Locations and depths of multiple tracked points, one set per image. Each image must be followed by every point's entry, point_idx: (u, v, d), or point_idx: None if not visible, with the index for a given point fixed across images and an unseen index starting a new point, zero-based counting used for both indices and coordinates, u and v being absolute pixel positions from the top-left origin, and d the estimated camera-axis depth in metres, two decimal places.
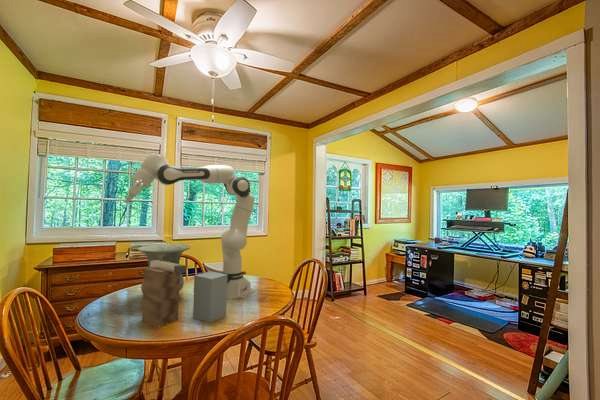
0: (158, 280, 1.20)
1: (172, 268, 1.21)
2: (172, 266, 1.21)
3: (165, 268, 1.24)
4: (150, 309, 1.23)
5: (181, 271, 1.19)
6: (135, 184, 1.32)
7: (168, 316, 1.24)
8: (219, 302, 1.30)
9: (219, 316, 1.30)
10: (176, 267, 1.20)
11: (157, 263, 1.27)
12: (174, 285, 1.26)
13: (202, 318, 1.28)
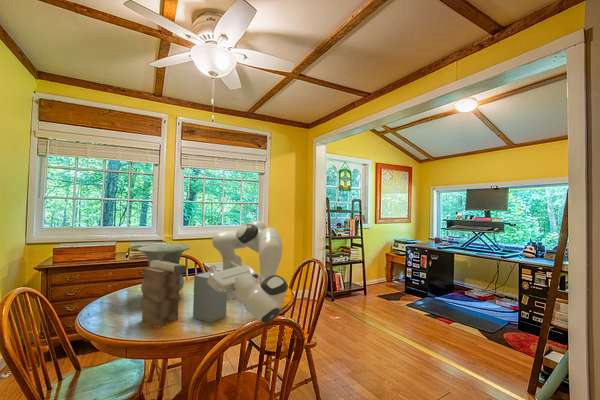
0: (158, 280, 1.20)
1: (172, 268, 1.21)
2: (172, 266, 1.21)
3: (165, 268, 1.24)
4: (150, 309, 1.23)
5: (181, 271, 1.19)
6: (217, 283, 0.95)
7: (168, 316, 1.24)
8: (219, 302, 1.30)
9: (219, 316, 1.30)
10: (176, 267, 1.20)
11: (157, 263, 1.27)
12: (174, 285, 1.26)
13: (202, 318, 1.28)
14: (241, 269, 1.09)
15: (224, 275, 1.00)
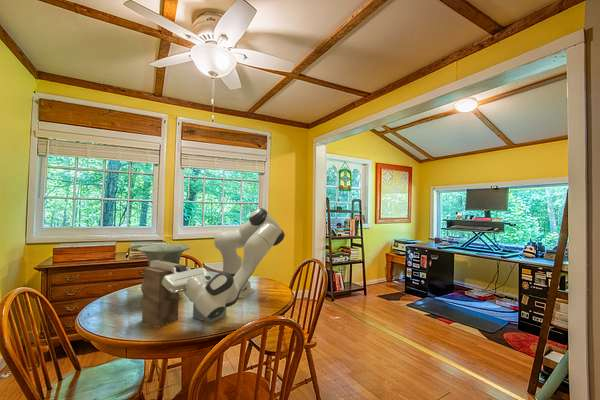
0: (158, 280, 1.20)
1: None
2: (172, 266, 1.21)
3: (165, 268, 1.24)
4: (150, 309, 1.23)
5: (181, 271, 1.19)
6: (169, 284, 1.09)
7: (168, 316, 1.24)
8: None
9: (219, 316, 1.30)
10: (176, 267, 1.20)
11: (157, 263, 1.27)
12: None
13: (202, 318, 1.28)
14: (196, 271, 1.22)
15: (177, 277, 1.13)
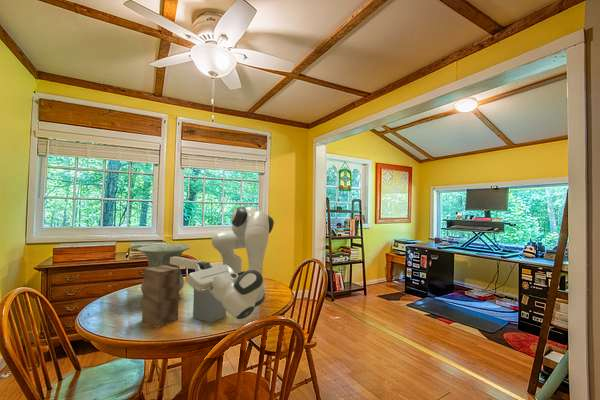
0: (158, 280, 1.20)
1: None
2: (195, 263, 1.14)
3: (187, 265, 1.16)
4: (150, 309, 1.23)
5: (205, 268, 1.12)
6: (195, 282, 1.01)
7: (168, 316, 1.24)
8: (219, 302, 1.30)
9: (219, 316, 1.30)
10: (200, 264, 1.12)
11: (178, 260, 1.19)
12: (174, 285, 1.26)
13: (202, 318, 1.28)
14: (220, 268, 1.15)
15: (202, 275, 1.06)
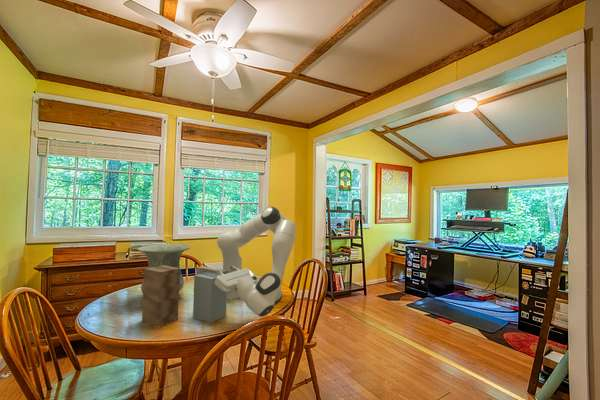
0: (158, 280, 1.20)
1: None
2: None
3: (213, 274, 1.31)
4: (150, 309, 1.23)
5: None
6: (223, 284, 1.16)
7: (168, 316, 1.24)
8: (219, 302, 1.30)
9: (219, 316, 1.30)
10: (224, 273, 1.27)
11: (204, 269, 1.34)
12: (174, 285, 1.26)
13: (202, 318, 1.28)
14: (242, 272, 1.29)
15: (228, 278, 1.21)
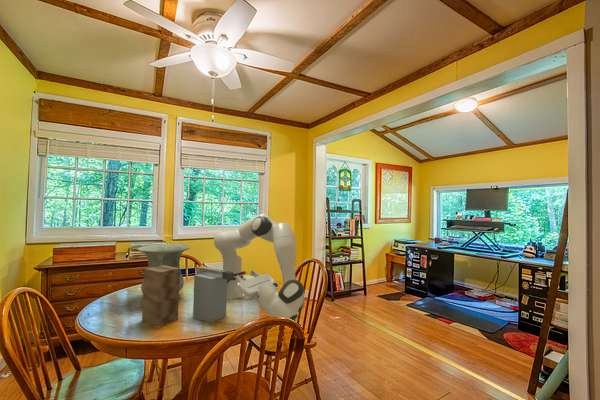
0: (158, 280, 1.20)
1: (220, 274, 1.28)
2: (220, 272, 1.28)
3: (213, 274, 1.31)
4: (150, 309, 1.23)
5: (229, 277, 1.26)
6: (244, 292, 1.10)
7: (168, 316, 1.24)
8: (219, 302, 1.30)
9: (219, 316, 1.30)
10: (224, 273, 1.27)
11: (204, 269, 1.34)
12: (174, 285, 1.26)
13: (202, 318, 1.28)
14: (262, 278, 1.23)
15: (249, 284, 1.14)
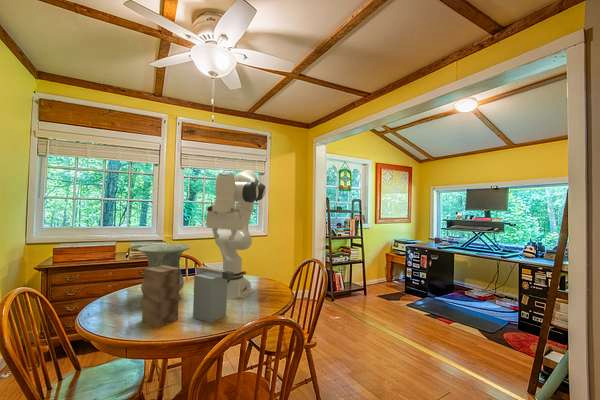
0: (158, 280, 1.20)
1: (220, 274, 1.28)
2: (220, 272, 1.28)
3: (213, 274, 1.31)
4: (150, 309, 1.23)
5: (229, 277, 1.26)
6: (239, 218, 1.16)
7: (168, 316, 1.24)
8: (219, 302, 1.30)
9: (219, 316, 1.30)
10: (224, 273, 1.27)
11: (204, 269, 1.34)
12: (174, 285, 1.26)
13: (202, 318, 1.28)
14: (213, 223, 1.23)
15: (230, 222, 1.18)
